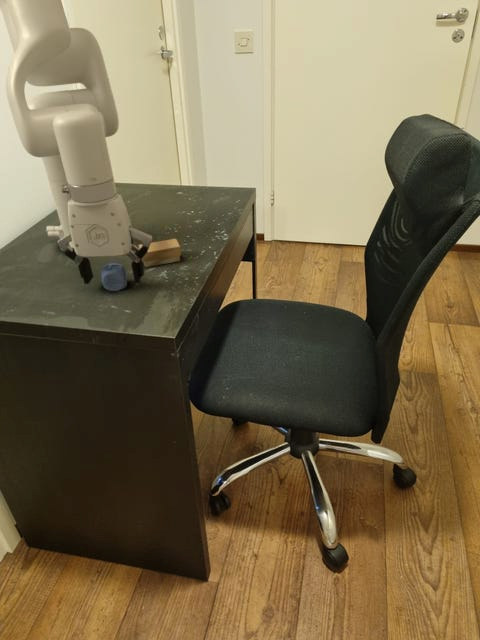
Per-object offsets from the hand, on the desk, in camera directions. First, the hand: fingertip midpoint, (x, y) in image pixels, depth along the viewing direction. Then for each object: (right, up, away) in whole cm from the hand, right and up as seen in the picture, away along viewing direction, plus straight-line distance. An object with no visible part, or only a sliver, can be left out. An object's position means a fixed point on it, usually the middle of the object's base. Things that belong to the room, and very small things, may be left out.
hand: (113, 279), depth 89 cm
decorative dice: (0, -1, +2) cm, 2 cm away
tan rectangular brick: (+7, +5, +10) cm, 13 cm away
